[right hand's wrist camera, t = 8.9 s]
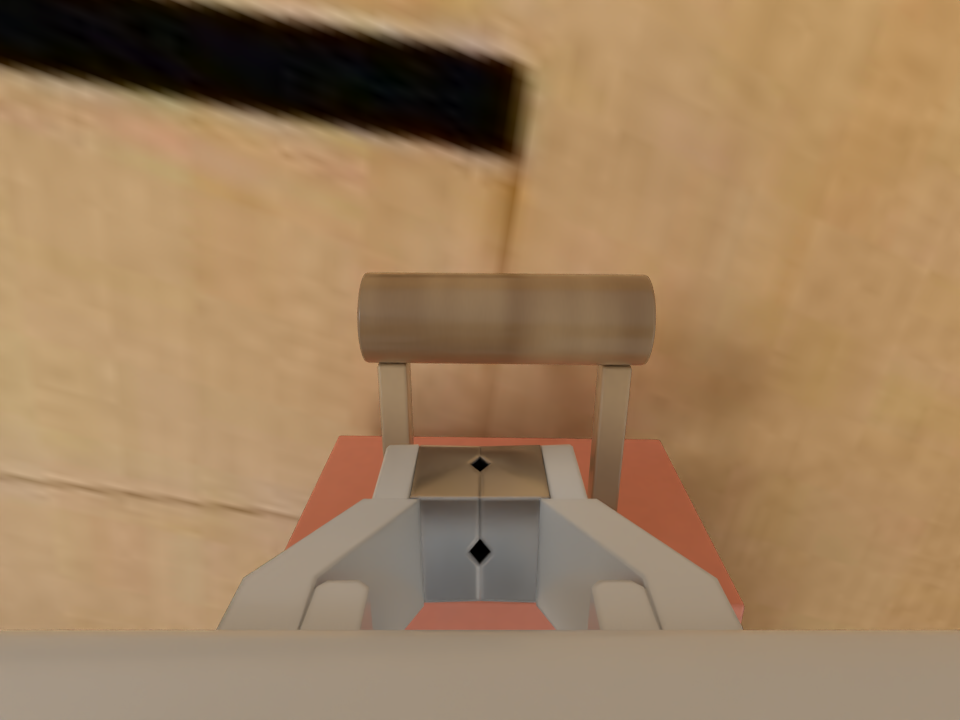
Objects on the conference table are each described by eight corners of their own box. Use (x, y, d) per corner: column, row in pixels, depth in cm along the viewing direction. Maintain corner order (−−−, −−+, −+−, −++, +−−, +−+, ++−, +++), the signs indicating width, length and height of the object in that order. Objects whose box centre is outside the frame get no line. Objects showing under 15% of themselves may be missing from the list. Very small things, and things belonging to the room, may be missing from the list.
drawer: (319, 229, 16) (210, 302, 10) (686, 232, 16) (810, 307, 10) (374, 813, 25) (334, 1045, 19) (610, 819, 25) (650, 1055, 19)
